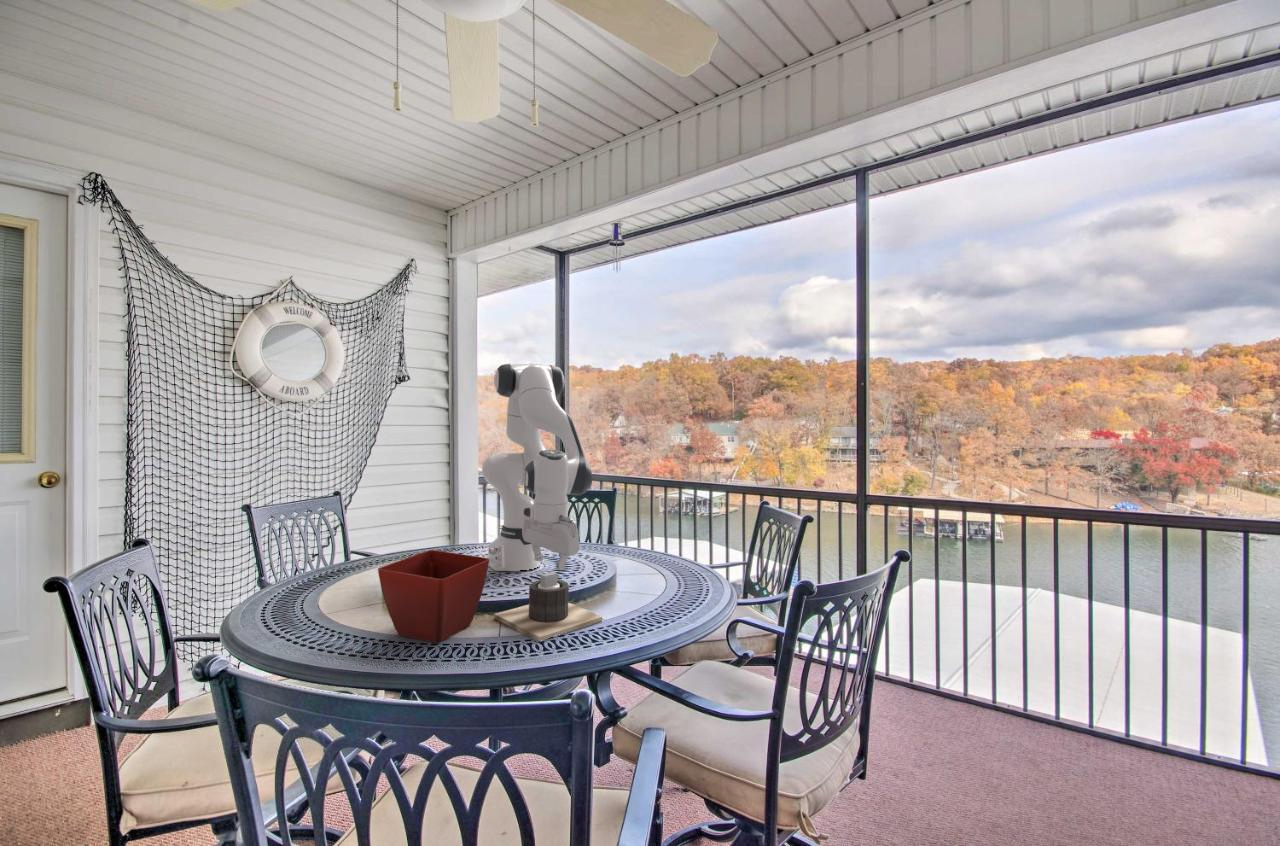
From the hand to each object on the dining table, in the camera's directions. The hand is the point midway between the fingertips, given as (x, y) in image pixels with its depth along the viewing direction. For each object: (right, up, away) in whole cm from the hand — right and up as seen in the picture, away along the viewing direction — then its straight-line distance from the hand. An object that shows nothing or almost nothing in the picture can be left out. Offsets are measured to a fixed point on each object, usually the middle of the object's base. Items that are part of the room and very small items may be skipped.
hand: (549, 564), depth 153 cm
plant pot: (-27, -14, -9) cm, 32 cm away
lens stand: (0, -15, 0) cm, 15 cm away
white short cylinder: (0, -7, 0) cm, 7 cm away
